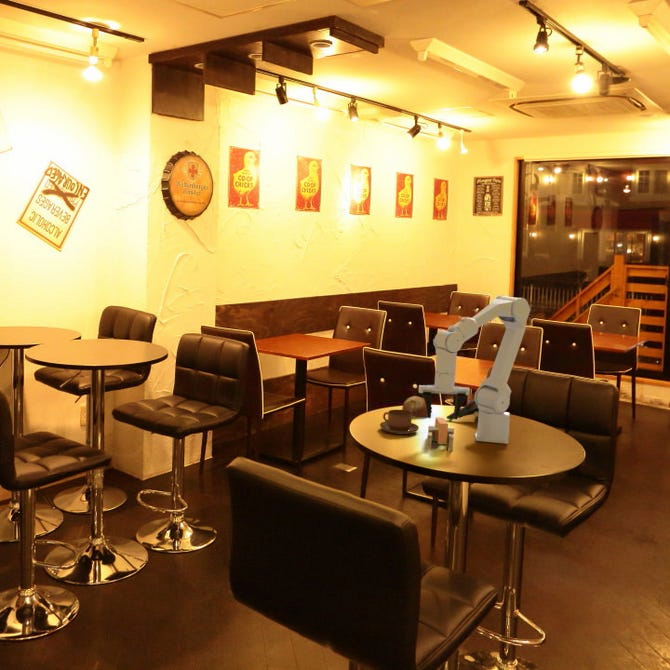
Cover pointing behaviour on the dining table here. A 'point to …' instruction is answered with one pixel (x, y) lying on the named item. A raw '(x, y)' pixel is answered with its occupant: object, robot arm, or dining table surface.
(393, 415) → the cup and saucer
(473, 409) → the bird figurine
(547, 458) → the dining table surface
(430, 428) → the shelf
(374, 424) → the dining table surface
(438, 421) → the orange long block
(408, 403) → the bread roll
